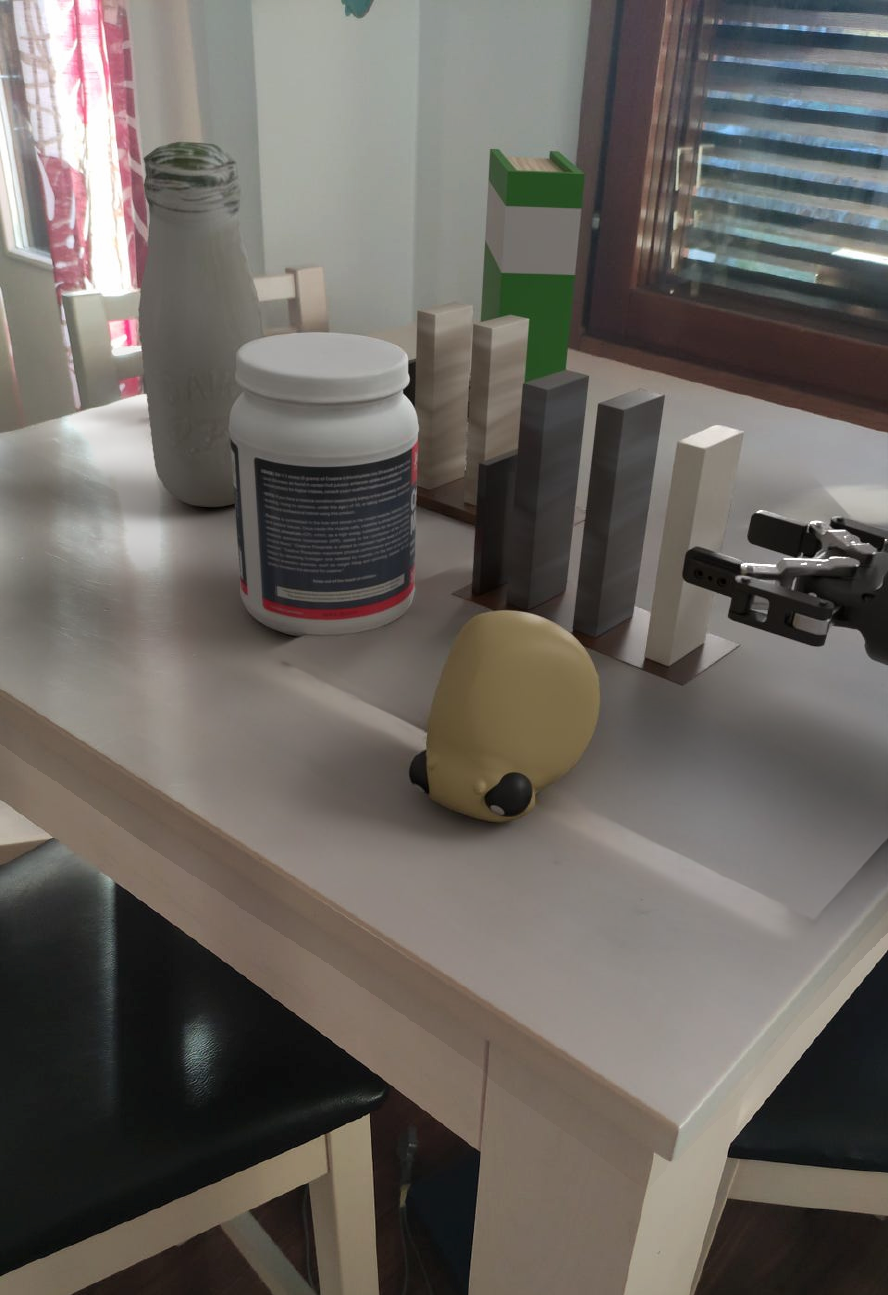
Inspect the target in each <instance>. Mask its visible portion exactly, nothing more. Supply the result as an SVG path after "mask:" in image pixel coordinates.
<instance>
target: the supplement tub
mask: <svg viewBox="0 0 888 1295" xmlns="http://www.w3.org/2000/svg"><path fill="white" fill-rule="evenodd" d="M408 360H409V357H408V354H407V352H406V351H405V350H404V349H403V348H401V347H400V346H398V345H396V344H394V343H393V342H392V343H391V342H390V341H387V340H383V339H380V338H375V337H370V336H367V335H360V334H351V333H343V332H341V333H340V332H324V331H323V332H322V331H321V332H318V331H317V332H315V331H314V332H313V331H312V332H309V331H308V332H291V333H282V334H281V333H280V334H275V335H270V336H265V337H264V336H263V338H260V339H256V340H253V341H251V342H248V343H246V344H244V345H243V346H242V347H240V349H239V350H238V351H237V353H236V366H237V371H236V373H235V380H236V382H237V383H238V384H239V385H240V386H242V388H243V391H244V392H243V393H242V394H241V395H240V396H239V397H238V398H237V400H236V401H235V403H234V405H233V407H232V409H231V413H230V418H229V432H230V442H231V455H232V470H233V484H234V498H235V504H234V511H235V525H236V539H237V540H236V541H237V553H238V568H239V583H240V587H239V588H240V589H239V592H240V597H241V599H242V600H241V601H242V602H243V604H244V607H245V609H246V610H247V611H248V612H249V614H250V615H251V616H252V617H253V619H255V620H257V621H258V622H259V623H260V624H262V625H264V626H265V627H267V628H269V629H272V630H274V631H277V632H280V633H283V634H285V635H290V636H294V637H299V638H301V637H303V636H305V635H311V636H341V635H351V634H357V633H363V632H368V631H371V630H375V629H379V628H381V627H384V626H386V625H388V624H390V623H392V622H394V621H396V620H398V619H400V618H401V617H402V616H403V615H404V614H405V613H406V612H407V611H408V610H409V608H411V605H412V602H413V599H414V596H415V593H416V586H415V582H416V581H415V580H416V577H415V574H416V541H417V540H416V537H417V536H416V534H417V504H416V496H417V454H418V432H419V425H418V419H417V414H416V411H415V409H414V407H413V405H412V403H411V402H410V400H409V399H408V398H407V397H406V396H405V395H404V394H403V389H404V388H405V387H406V386H407V385H408V384H409V381H410V377H409V374H408Z"/></svg>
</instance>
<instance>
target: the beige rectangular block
mask: <svg viewBox="0 0 888 1295" xmlns="http://www.w3.org/2000/svg"><path fill="white" fill-rule="evenodd" d="M744 436H745V432H744V431H743V430H740V429H737V428H732V427H729V426H724V425H720V424H715V425H712V426H711V427H708V428H706V429H703V430H701V431H699V432H697V433H694V434H691V435H690V436H687V437H685V438H683V439H680V440H678V441H677V442H676V449H675V455H674V461H673V468H672V473H671V481H670V486H669V494H668V500H667V506H666V513H665V520H664V526H663V531H662V540H661V545H660V552H659V556H658V558H659V559H658V564H657V570H656V577H655V583H654V589H653V597H652V604H651V610H650V612H651V615H650V622H649V628H648V635H647V641H646V648H645V654H644V657H645V658H648V659H650V660H653V661H655V662H658V663H661V664H663V665H666V666H670V665H672V664H673V663H675V662H676V661H678V660H679V659H681V658H682V657H684V656H685V655H687V654H688V653H690V652H691V651H693V650H694V649H696V648H697V647H699V646H700V645H702V644H703V643H704V642H705V639H706V633H708V628H709V624H710V623H709V621H710V617H711V612H712V606H713V600H714V595H715V592H713V591H710V590H707V589H704V588H702V587H699V586H696V585H693V584H690V583H687V582H686V581H685V580H684V579H683V577H682V572H683V566H684V560H685V554H686V552H687V551H688V550H690V549H692V548H693V547H696V546H698V547H702V548H705V549H708V550H711V551H714V552H717V553H720V554H723V548H724V542H725V537H726V531H727V525H728V521H729V516H730V510H731V504H732V499H733V494H734V489H735V483H736V478H737V474H738V467H739V461H740V456H741V451H742V445H743V441H744Z"/></svg>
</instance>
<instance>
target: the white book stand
mask: <svg viewBox="0 0 888 1295" xmlns="http://www.w3.org/2000/svg"><path fill="white" fill-rule="evenodd" d="M473 311H474V306H473V305H471V304H466V303H462V302H458V301H453V302H448V303H443V304H439V305H435V306H431V307H427V308H422V309H418V310H417V311H416V315H417V316H416V351H415V358H412V359H408V374H409V377H410V381H409V384H408V385H407V386H406V387H405V388H404V389H403V394H404V395H405V396H406V397H407V398H408V399H409V400H410V402H411V403H412V405H413V407H414V409H415V411H416V414H417V419H418V425H419V432H418V454H417V496H416V506H417V505H418V506H420V507H423V506H424V507H423V508H426V507H427V508H426V509H428V508H429V510H432V511H435V512H437V513H440V514H442V515H446V516H449V517H451V518H453V519H457V520H460V521H462V522H465V523H468V524H471V525H474V526H475V523H476V505H477V488H478V470H479V463H480V462H483V461H486V460H488V459H491V458H494V457H496V456H499V455H502V454H504V453H507V452H510V451H512V450H515V449H518V440H519V427H520V414H521V401H522V387H523V383H524V380H525V367H526V354H527V341H528V328H529V319H527V318H523V317H519V316H514V315H507V316H503V317H499V318H495V319H491V320H487V321H483V322H481V321H480V322H475V323H473V316H474V315H473ZM469 386H470V389H469ZM468 402H469V417H467V415H468ZM467 433H468V434H467ZM466 438H467V439H466ZM585 514H586V508H583V507H579V506H577V505H575V513H574V522H573V527H575V526H577V525H579V524H581V523H583V522H585Z"/></svg>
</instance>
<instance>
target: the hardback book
mask: <svg viewBox="0 0 888 1295" xmlns="http://www.w3.org/2000/svg"><path fill="white" fill-rule="evenodd" d="M548 156H549V157H548V158H545V157H544V158H542V157H518V156H517V157H516V156H514V157H513V156H505V155H504V154H503V152H502V150H500V149H499V148H489V163H488V178H487V179H488V182H487V197H486V199H487V200H486V216H485V217H486V218H485V236H484V254H483V270H482V288H481V289H482V292H481V308H480V322H483V321H487V320H491V319H495V318H499V317H503V316H507V315H514V316H519V317H523V318H527V319H529V328H528V341H527V354H526V367H525V380H524V383H526V382H529V381H532V380H535V379H538V378H542V377H545V376H548V375H551V374H554V373H557V372H560V371H563V370H567V362H568V361H567V360H568V352H569V351H568V350H569V340H570V330H571V322H572V320H571V319H572V310H573V302H574V301H573V300H574V290H575V279H576V269H577V259H578V248H579V239H580V228H581V219H582V218H581V217H582V208H583V199H584V198H583V197H584V188H585V177H586V176H585V175H586V174H585V173H584V172H583V171H582V170H581V169H579V167H577V166H576V165H575V164H574V163H573V162H572V161H570V160H569V159H568V158H567V157H566V156H565V155H564V154H562V153H561V152H560V151H558V150H549V155H548Z"/></svg>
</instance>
